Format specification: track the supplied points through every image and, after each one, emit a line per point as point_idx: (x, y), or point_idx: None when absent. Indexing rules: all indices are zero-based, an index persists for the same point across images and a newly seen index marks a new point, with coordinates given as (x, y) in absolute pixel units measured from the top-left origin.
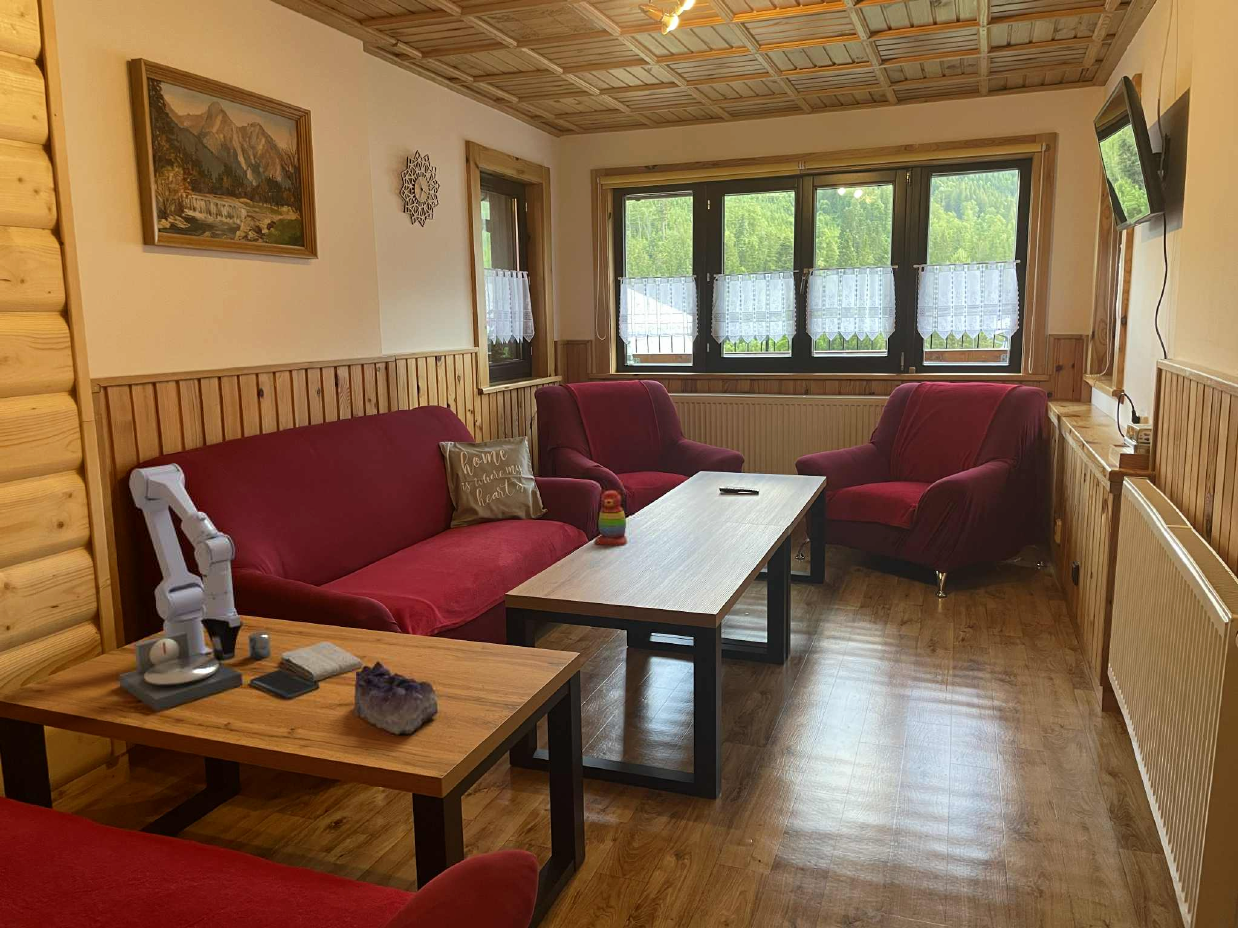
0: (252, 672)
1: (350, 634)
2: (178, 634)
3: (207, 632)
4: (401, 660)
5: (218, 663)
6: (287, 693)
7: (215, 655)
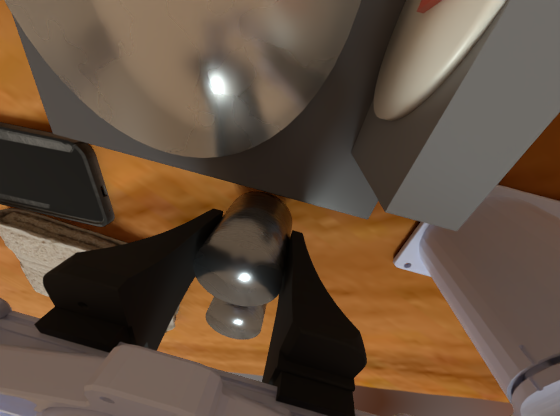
0: (164, 200)
1: (208, 360)
2: (435, 160)
3: (319, 280)
4: (45, 307)
5: (107, 120)
6: None
7: (254, 199)
